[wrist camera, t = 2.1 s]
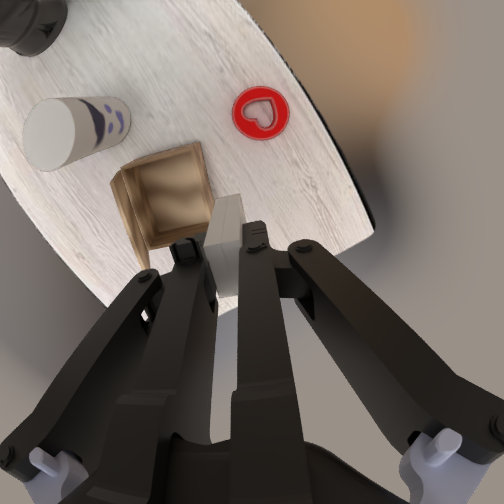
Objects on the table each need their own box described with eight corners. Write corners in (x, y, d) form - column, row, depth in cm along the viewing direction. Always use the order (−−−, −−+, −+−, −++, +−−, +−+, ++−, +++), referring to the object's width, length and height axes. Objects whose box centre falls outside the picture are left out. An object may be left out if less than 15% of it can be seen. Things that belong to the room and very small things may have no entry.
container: (139, 131, 45) (85, 147, 27) (98, 156, 46) (38, 185, 28) (119, 87, 40) (59, 83, 22) (80, 114, 41) (13, 127, 24)
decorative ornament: (291, 94, 43) (295, 93, 40) (280, 143, 47) (282, 145, 45) (238, 83, 42) (238, 81, 39) (227, 133, 46) (227, 134, 43)
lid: (120, 169, 40) (117, 171, 40) (113, 181, 30) (109, 183, 30) (148, 251, 47) (145, 252, 47) (152, 285, 37) (148, 287, 37)
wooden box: (134, 159, 47) (120, 167, 41) (199, 141, 46) (193, 146, 40) (157, 234, 55) (148, 250, 49) (218, 221, 54) (216, 237, 48)
